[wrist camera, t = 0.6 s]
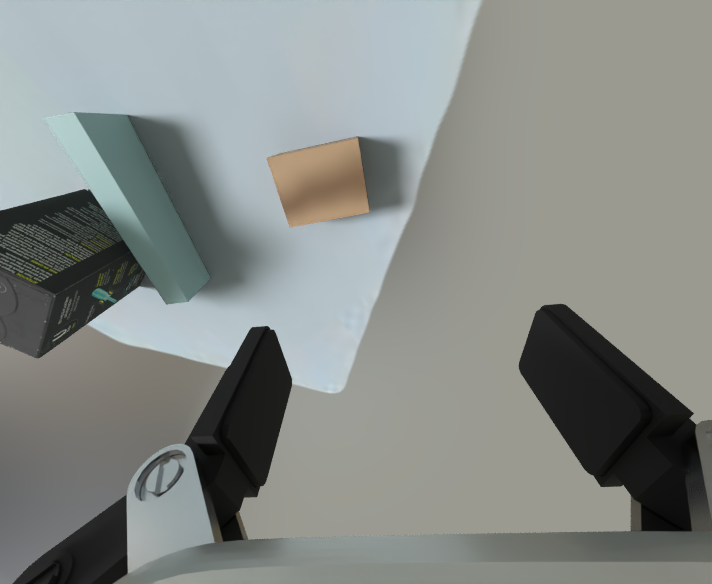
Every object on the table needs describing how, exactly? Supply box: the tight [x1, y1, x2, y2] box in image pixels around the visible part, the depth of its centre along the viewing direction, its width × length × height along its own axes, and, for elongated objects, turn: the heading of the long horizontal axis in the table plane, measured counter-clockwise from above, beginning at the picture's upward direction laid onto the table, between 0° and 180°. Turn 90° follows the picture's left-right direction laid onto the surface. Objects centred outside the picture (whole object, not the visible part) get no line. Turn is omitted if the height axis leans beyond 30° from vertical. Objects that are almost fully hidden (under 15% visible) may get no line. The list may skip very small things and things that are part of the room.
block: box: [267, 137, 370, 227], centre depth 28 cm, size 7×9×5 cm
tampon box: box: [0, 189, 145, 358], centre depth 29 cm, size 11×9×15 cm
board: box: [43, 112, 211, 304], centre depth 30 cm, size 20×3×6 cm, turn 8°
